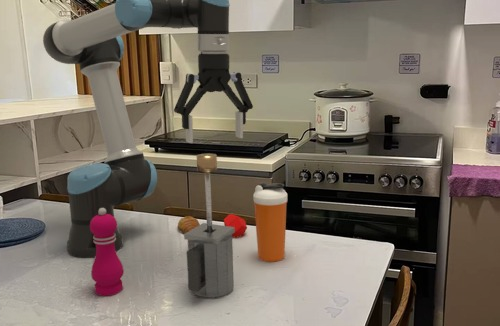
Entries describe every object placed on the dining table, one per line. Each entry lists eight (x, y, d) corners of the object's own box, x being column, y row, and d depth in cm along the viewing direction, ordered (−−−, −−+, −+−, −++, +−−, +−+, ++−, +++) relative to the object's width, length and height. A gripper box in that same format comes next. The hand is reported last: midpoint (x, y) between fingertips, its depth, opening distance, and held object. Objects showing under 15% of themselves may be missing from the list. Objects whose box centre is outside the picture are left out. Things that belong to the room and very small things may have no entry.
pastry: (204, 235, 159) (203, 223, 158) (182, 238, 157) (181, 226, 156) (197, 225, 168) (196, 214, 167) (176, 228, 166) (175, 217, 165)
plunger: (188, 244, 118) (183, 157, 114) (204, 234, 125) (201, 151, 120) (216, 249, 115) (212, 159, 111) (231, 238, 121) (228, 153, 117)
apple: (252, 219, 155) (237, 204, 160) (233, 228, 151) (218, 212, 157) (251, 236, 159) (236, 221, 164) (233, 245, 155) (218, 230, 161)
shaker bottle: (285, 264, 135) (284, 189, 131) (251, 262, 137) (249, 188, 133) (290, 251, 144) (289, 180, 140) (258, 249, 145) (256, 179, 141)
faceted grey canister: (174, 299, 117) (171, 239, 114) (204, 276, 129) (202, 221, 126) (213, 307, 113) (211, 245, 110) (241, 283, 124) (239, 226, 122)
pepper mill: (108, 299, 118) (101, 214, 114) (86, 292, 122) (78, 209, 118) (131, 287, 124) (125, 205, 120) (109, 280, 128) (103, 201, 124)
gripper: (169, 53, 118) (172, 146, 122) (266, 52, 129) (265, 137, 134) (158, 53, 124) (162, 141, 129) (252, 52, 135) (251, 133, 140)
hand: (214, 139), depth 131 cm, fingers open, 13 cm apart
